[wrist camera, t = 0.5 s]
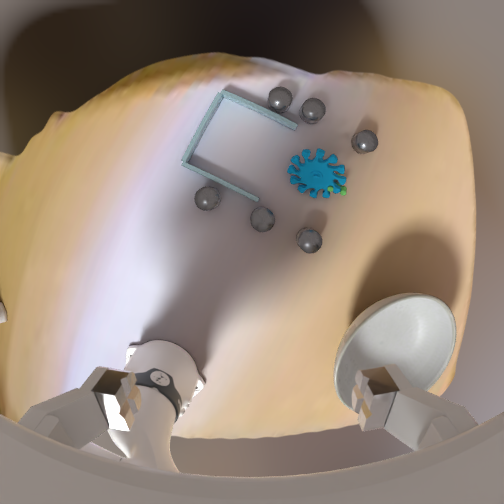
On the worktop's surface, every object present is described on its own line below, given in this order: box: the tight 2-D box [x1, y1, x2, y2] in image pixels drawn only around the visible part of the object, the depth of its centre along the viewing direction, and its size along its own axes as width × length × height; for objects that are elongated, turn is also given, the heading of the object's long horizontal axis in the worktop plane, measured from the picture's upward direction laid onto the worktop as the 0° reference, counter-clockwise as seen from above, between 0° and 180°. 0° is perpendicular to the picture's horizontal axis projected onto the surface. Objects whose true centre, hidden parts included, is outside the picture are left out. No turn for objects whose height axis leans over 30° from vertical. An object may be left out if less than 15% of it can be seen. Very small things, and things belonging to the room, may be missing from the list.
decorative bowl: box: [334, 293, 456, 411], centre depth 50 cm, size 27×27×12 cm
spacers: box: [195, 87, 378, 253], centre depth 47 cm, size 26×24×4 cm
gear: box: [287, 148, 347, 198], centre depth 47 cm, size 11×6×10 cm
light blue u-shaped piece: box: [182, 89, 298, 202], centre depth 47 cm, size 16×15×2 cm
